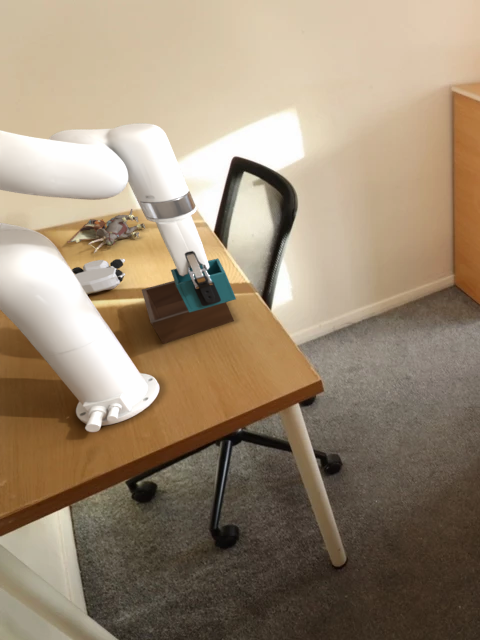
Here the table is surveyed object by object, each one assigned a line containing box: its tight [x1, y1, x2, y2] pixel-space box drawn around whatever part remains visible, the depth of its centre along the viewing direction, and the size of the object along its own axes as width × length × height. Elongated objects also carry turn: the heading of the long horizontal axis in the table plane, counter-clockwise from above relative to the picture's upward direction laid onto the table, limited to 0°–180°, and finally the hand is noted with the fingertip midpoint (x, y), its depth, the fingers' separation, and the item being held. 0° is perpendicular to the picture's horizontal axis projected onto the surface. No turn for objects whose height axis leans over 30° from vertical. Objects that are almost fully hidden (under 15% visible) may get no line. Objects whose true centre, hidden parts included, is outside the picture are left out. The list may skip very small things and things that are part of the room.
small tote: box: [170, 258, 237, 313], centre depth 89 cm, size 8×6×6 cm
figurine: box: [67, 208, 146, 254], centre depth 134 cm, size 20×6×17 cm
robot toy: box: [71, 258, 126, 295], centre depth 116 cm, size 12×4×15 cm
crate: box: [141, 280, 235, 345], centre depth 106 cm, size 16×14×6 cm
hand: (207, 293), depth 90 cm, fingers closed on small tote, 6 cm apart
